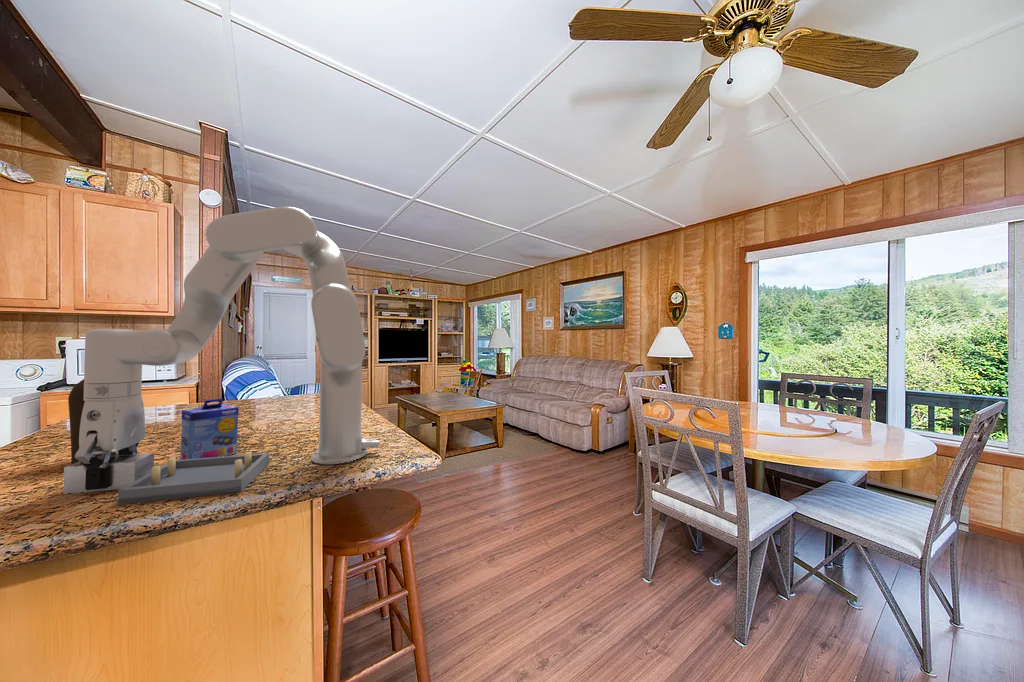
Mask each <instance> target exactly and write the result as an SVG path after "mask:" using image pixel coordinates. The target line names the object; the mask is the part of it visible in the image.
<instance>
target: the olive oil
mask: <svg viewBox="0 0 1024 682" xmlns="http://www.w3.org/2000/svg"><path fill="white" fill-rule="evenodd" d="M67 401H68V402H67V403H68V414H69V415H68V417H69V429H70V430H69V433H70V455H71V456H70V458H71V462H70V463H71V464H70V465H72V464H74V463H77V462H79V460H77V459H76V458H75V454H76V453H77V451H78V450H79V432H80V423H81V416H82V411H83V407H84V403H85V401H84V378H83V379H82V380H80V381H79V382H78V383H76V384H75V385H74V386H73V387H72V388H71V390H70V393H69V395H68V399H67ZM96 451H103V450H102V449H99V450H96ZM113 455H116V452H111V455H110V456H113ZM98 456H102V455H95V457H98Z"/></svg>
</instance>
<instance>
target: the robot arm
mask: <svg viewBox="0 0 1024 682" xmlns="http://www.w3.org/2000/svg"><path fill="white" fill-rule="evenodd" d="M205 238H206V241H207V243H208V245H209V246H208V247H207V249H206V250H205V252H204V253H202V255H201V257H200V258H199V259H198V260H197V262H196V263H195V264H194V266H193V267H192V269H190V271H189V272H188V273H187V275H186V276H185V278H184V280H183V290H184V291H183V292H184V298H183V299H184V300H183V303H182V306H181V308H180V310H179V311H178V314H177V315H176V317H175V318H174V319H173V321H172V322H171V323H170V325H169V326H168V328H156V329H155V328H152V329H151V328H150V329H141V330H140V329H139V330H135V329H132V328H131V329H130V328H129V329H127V328H92V329H89V330H88V331H87V333H86V334H85V339H84V371H83V372H84V374H83V375H84V376H83V379H84V401H85V403H84V407H83V411H82V416H81V423H80V432H79V450H78V451H77V453H76V454H75V458H76V459H77V460H79V461H80V462H81V464H82V465H83V469H84V470H86V478H85V489H86V490H96V489H106V488H108V487H109V486H110V466H109V467H107V465H108V462H109V458H110V455H111V452H116V455H127V454H138V449H137V448H138V445H139V444H140V442H142V441H143V440H144V439H145V437H146V415H145V406H144V400H143V396H142V387H143V386H142V385H143V384H142V383H143V366H152V367H154V366H155V367H165V366H170V365H171V366H173V365H175V364H180V363H181V364H182V363H185V362H186V363H187V362H189V361H190V360H192V359H194V358H195V357H197V356H198V355H199V353H200V352H202V350H203V348H204V347H205V345H206V344H207V342H208V341H209V340H210V338H211V337H213V334H214V332H216V330H217V328H218V326H219V324H220V323H221V321H222V319H223V317H224V315H225V314H226V311H227V310H228V308H229V305H230V303H231V300H232V299H233V297H234V296H235V294H237V292H238V291H239V289H240V288H241V287H242V285H243V283H245V281H246V280H247V278H248V276H249V275H250V274H251V273H252V271H253V269H254V267H255V266H256V265H257V264H258V263H259V261H260V259H261V258H262V256H263V254H264V252H271V251H276V250H281V249H284V250H285V251H286V252H288V253H289V254H291V255H292V254H293V255H295V256H297V257H299V258H301V259H302V260H303V261H304V263H305V264H306V266H307V271H308V276H309V279H310V285H311V290H312V298H311V304H310V305H311V312H312V316H313V317H312V319H313V323H314V329H315V334H316V339H317V345H318V351H319V357H320V375H319V376H320V377H319V378H320V379H319V415H318V416H319V418H318V420H319V421H318V422H319V424H318V449H317V450H316V451H314V452H313V453H312V454H311V461H312V462H313V463H316V464H318V463H319V465H337V464H338V465H339V464H340V463H341V464H346V463H345V462H347V463H351V462H350V461H352V462H354V461H353V460H355V461H357V460H356V459H358V460H360V459H359V458H361V457H362V456H364V455H365V454H366V453H367V454H368V448H369V449H370V448H371V449H372V448H374V449H376V448H380V439H376V438H369V439H368V438H367V439H366V438H364V434H363V433H362V403H363V402H362V399H363V398H362V397H363V395H362V394H363V361H364V359H365V356H366V343H365V336H364V330H363V329H364V328H363V324H362V319H361V311H360V307H359V306H360V305H359V303H358V299H357V297H356V295H355V293H354V292H353V291H352V290H351V289H352V288H351V286H350V285H351V284H350V279H349V274H348V270H347V266H346V262H345V258H344V255H343V253H342V250H341V249H340V248H339V246H338V245H337V244H336V243H335V242H334V241H333V240H332V239H331V238H330V237H328V236H327V235H326V234H324V233H323V232H320V231H319V230H318V229H317V225H316V223H315V221H314V218H312V217H311V215H310V214H308V213H307V212H306V211H304V209H300V208H298V207H294V206H278V207H271V208H265V209H264V208H263V209H258V210H251V211H250V210H249V211H243V212H237V213H230V214H226V215H222V216H218V217H217V218H215V219H213V220H211V222H210V223H209V224H208V225H207V226H206V229H205ZM99 449H102V450H103V451H96V450H99ZM367 454H366V455H367ZM95 455H102V458H101V460H100V459H99V458H98V457H95ZM366 455H365V456H366ZM365 456H364V457H365ZM361 459H362V458H361Z"/></svg>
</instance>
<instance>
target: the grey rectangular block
mask: <svg viewBox="0 0 1024 682" xmlns="http://www.w3.org/2000/svg"><path fill="white" fill-rule="evenodd" d="M98 458H99V459H100V460H101V458H102V456H98ZM109 466H110V486H109V487H108V488H106V489H96V490H86V489H85V478H86V470H84V469H83V465H82V464H81V462H80V461H79V462H77V463H74V464H68V465H67V466H64V467H63V495H69V494H68V493H73V494H82V493H81V492H84V493H92V492H93V493H94V492H102V491H103V492H104V491H114V490H120V489H122V488H124V487H125V486H127V485H129V484H131V483H133V482H134V481H136V480H138V479H140V478H142V477H143V476H145V475H147V474H149V473H151V471H152V467H154V466H155V452H143V453H136V454H127V455H113V456H110V458H109V462H108V465H107V467H109Z"/></svg>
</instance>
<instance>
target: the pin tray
mask: <svg viewBox="0 0 1024 682" xmlns="http://www.w3.org/2000/svg"><path fill="white" fill-rule="evenodd" d="M269 464H270V452H268V453H267V452H266V453H254V454H253V453H252V451H246V452H244V454H240V455H229V456H224V457H210V458H197V459H184V460H181V459H176V457H173V456H172V457H169V458H167V462H166V463H165V464H164V465H162V466H161V465H154V467H152V471H151V473H149V474H147V475H145V476H143V477H142V478H140V479H138V480H136V481H134V482H133V483H131V484H129V485H127V486H125V487H124V488H122V489H117V506H118V505H120V504H121V505H127V504H128V505H129V504H139V503H148V502H156V501H157V502H158V501H168V500H176V499H187V498H195V497H198V498H199V497H203V496H204V497H205V496H215V495H226V494H236V493H242V492H243V491H244V490H245V489H246V488H247V487H248V486H249V485H250V484H249V483H250V482H251V481H252V480H253V481H254V480H255V479H256V478H257V477H258V475H259V474H261V472H263V470H264V469H266V467H268V465H269ZM253 481H252V482H253ZM252 482H251V483H252ZM248 484H249V485H248ZM247 485H248V486H247Z"/></svg>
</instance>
